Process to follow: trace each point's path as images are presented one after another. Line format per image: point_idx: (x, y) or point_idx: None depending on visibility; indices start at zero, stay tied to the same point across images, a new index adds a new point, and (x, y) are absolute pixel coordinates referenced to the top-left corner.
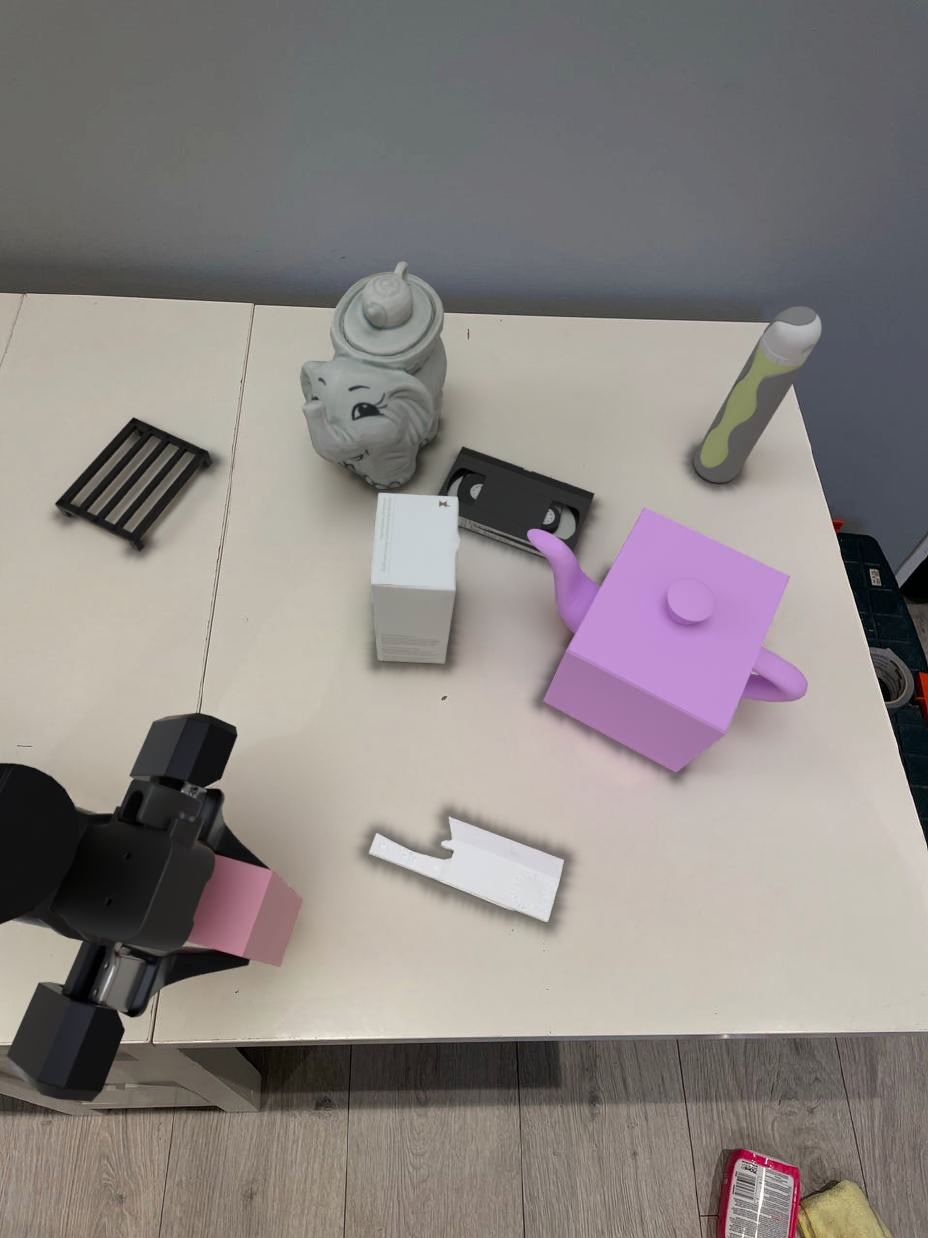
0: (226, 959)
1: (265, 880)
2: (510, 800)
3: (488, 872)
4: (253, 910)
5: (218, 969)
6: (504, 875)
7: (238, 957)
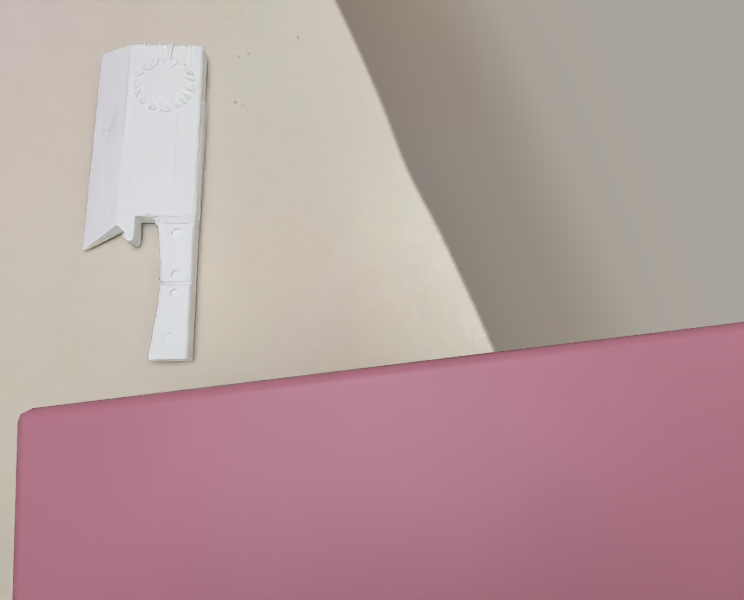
0: None
1: (142, 448)
2: (25, 162)
3: (155, 150)
4: (475, 414)
5: None
6: (152, 125)
7: None
